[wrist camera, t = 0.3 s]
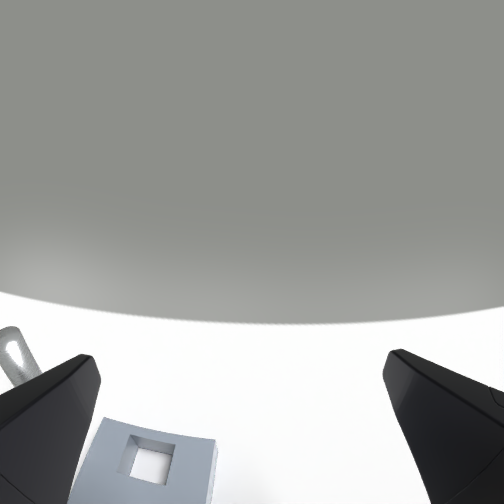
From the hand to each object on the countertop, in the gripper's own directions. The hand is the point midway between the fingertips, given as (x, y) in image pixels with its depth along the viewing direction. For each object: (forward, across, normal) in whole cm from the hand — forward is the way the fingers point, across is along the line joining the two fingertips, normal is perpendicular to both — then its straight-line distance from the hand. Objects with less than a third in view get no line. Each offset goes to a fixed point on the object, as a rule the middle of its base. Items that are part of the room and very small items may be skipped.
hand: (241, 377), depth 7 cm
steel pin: (+6, +16, +16) cm, 24 cm away
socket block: (0, +8, +17) cm, 19 cm away
